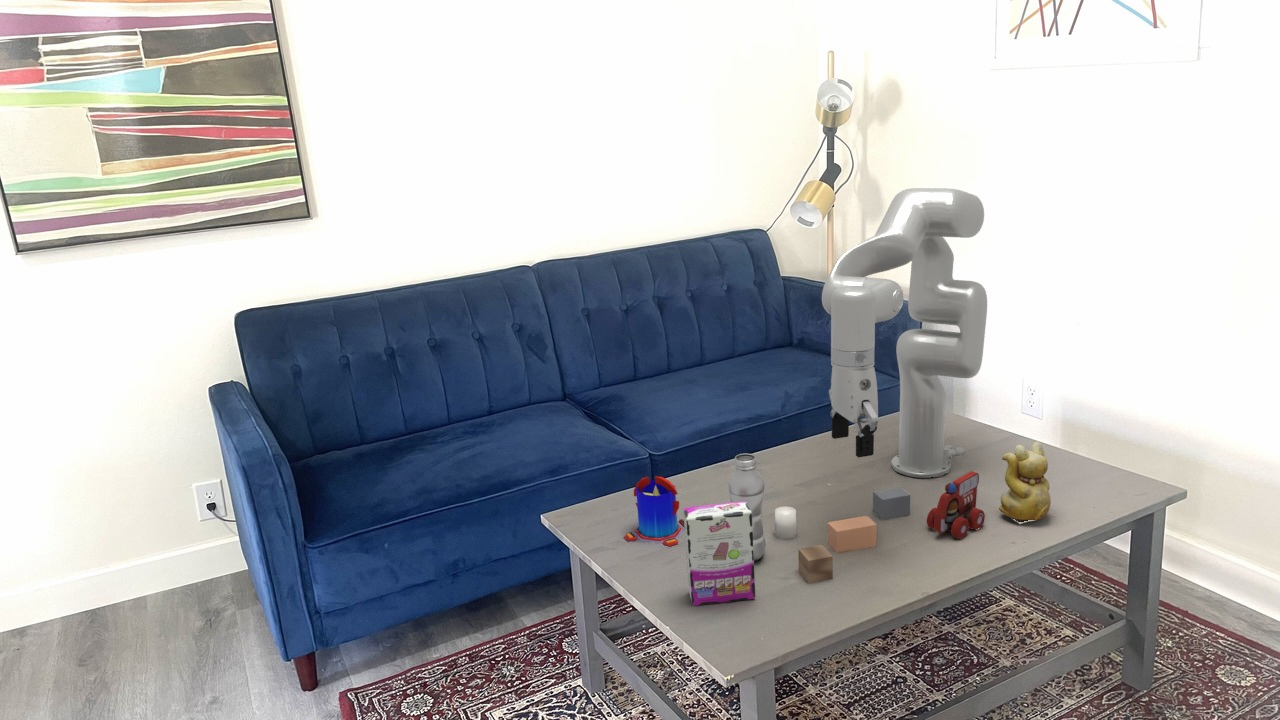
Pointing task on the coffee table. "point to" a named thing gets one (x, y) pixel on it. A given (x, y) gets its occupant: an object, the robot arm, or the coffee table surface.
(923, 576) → the coffee table surface
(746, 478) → the plastic bottle
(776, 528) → the cream cylinder
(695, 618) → the coffee table surface
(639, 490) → the fantasy tower
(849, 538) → the terracotta long brick
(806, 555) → the walnut square block
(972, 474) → the toy fire truck
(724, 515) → the candy bar box
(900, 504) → the grey short brick
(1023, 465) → the decorative figurine
